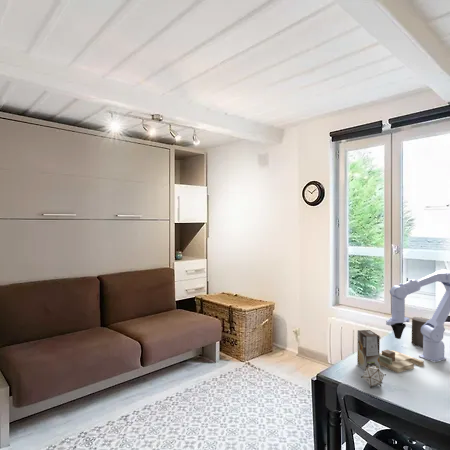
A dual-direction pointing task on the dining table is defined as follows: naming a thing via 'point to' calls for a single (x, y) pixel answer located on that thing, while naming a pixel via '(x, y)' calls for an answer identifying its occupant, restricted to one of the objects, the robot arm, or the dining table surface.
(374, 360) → the coffee box
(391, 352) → the walnut block
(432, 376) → the dining table surface
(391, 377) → the dining table surface
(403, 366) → the trap deck
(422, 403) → the dining table surface
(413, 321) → the dark brown upright box
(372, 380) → the game die
